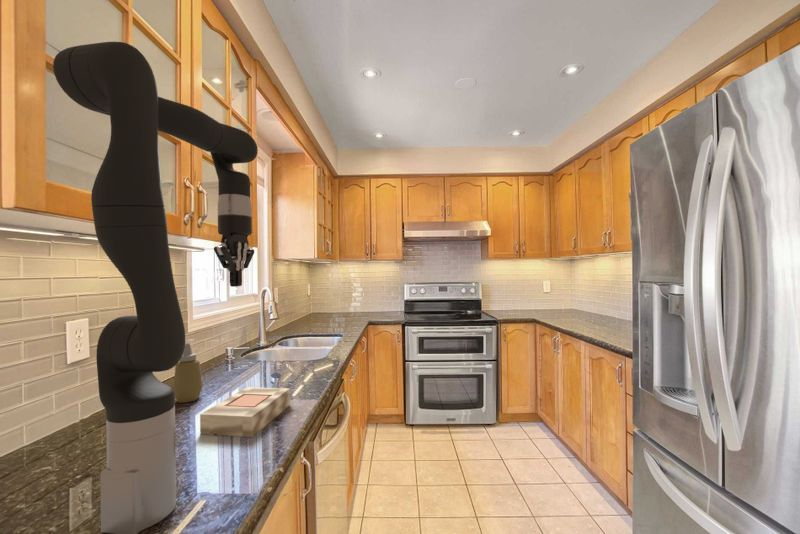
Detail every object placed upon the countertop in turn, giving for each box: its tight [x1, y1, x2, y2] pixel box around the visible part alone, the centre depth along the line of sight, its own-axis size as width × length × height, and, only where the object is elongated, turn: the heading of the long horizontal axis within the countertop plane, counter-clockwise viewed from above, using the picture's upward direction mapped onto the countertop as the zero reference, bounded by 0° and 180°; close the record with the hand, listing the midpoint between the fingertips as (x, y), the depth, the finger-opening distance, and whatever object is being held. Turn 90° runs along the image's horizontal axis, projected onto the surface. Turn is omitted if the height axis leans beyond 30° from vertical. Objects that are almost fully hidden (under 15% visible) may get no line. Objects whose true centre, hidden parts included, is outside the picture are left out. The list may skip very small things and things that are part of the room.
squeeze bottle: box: [172, 342, 204, 404], centre depth 110 cm, size 8×8×18 cm
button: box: [228, 395, 269, 407], centre depth 95 cm, size 8×8×4 cm
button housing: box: [199, 386, 291, 438], centre depth 95 cm, size 20×14×5 cm
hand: (236, 286), depth 84 cm, fingers closed
